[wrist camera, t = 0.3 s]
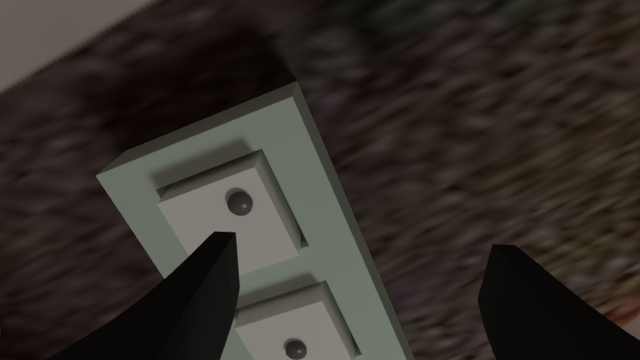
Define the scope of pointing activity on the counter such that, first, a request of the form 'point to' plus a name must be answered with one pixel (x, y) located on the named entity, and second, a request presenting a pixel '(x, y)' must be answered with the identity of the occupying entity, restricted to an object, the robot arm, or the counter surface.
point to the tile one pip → (296, 326)
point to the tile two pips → (235, 211)
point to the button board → (302, 196)
